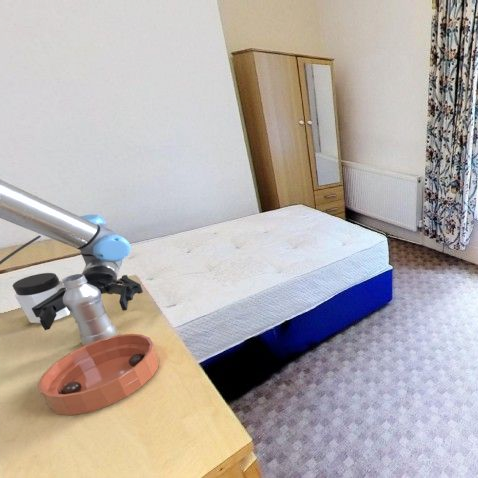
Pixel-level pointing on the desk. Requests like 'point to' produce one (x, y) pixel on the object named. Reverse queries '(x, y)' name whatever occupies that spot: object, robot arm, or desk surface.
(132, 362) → the bead
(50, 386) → the bowl
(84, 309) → the plastic bottle
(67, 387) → the bead
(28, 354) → the desk surface
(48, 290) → the jar
